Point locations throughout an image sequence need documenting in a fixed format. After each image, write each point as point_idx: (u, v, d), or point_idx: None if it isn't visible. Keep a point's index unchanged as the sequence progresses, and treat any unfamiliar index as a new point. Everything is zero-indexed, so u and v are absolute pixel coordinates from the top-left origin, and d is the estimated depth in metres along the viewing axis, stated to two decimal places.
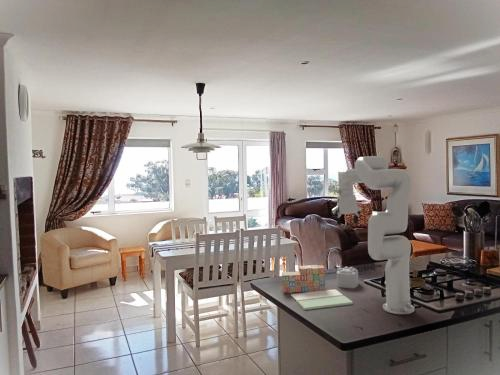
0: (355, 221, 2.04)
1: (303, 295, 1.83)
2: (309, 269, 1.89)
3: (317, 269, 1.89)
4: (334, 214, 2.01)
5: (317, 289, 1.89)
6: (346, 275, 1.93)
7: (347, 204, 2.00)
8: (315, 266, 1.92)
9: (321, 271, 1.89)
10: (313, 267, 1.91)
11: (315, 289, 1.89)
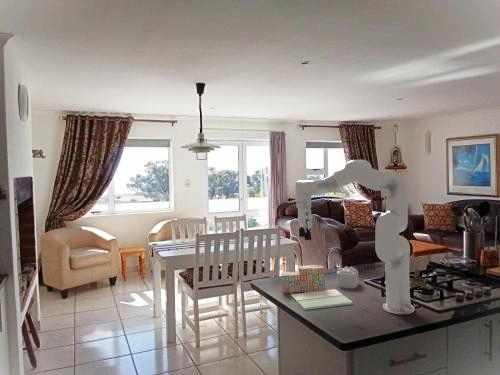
0: (303, 234, 1.96)
1: (303, 295, 1.83)
2: (309, 269, 1.89)
3: (317, 269, 1.89)
4: (310, 229, 1.84)
5: (317, 289, 1.89)
6: (346, 275, 1.93)
7: None
8: (315, 266, 1.92)
9: (321, 271, 1.89)
10: (313, 267, 1.91)
11: (315, 289, 1.89)
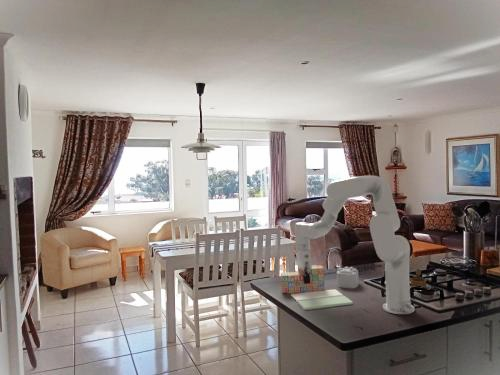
0: None
1: (303, 295, 1.83)
2: None
3: (316, 269, 1.89)
4: (309, 273, 1.85)
5: (316, 289, 1.89)
6: (346, 275, 1.93)
7: None
8: (314, 266, 1.92)
9: (320, 271, 1.89)
10: (312, 267, 1.90)
11: (314, 289, 1.89)
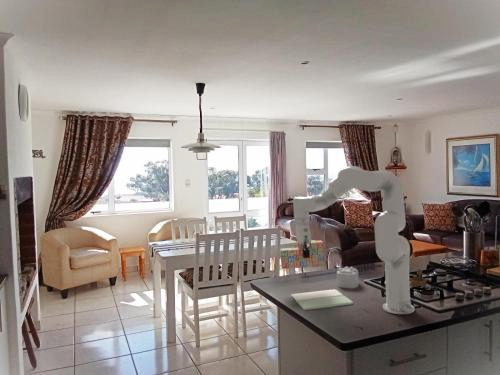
0: None
1: (303, 295, 1.83)
2: None
3: (316, 243, 1.88)
4: (308, 246, 1.84)
5: (316, 264, 1.88)
6: (346, 275, 1.93)
7: None
8: (314, 241, 1.91)
9: (320, 245, 1.88)
10: (312, 242, 1.89)
11: (314, 264, 1.88)
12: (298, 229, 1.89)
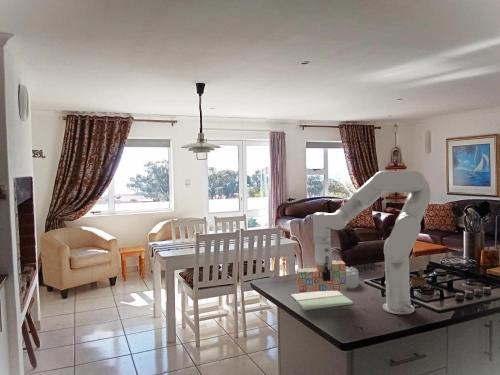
0: None
1: (303, 295, 1.83)
2: None
3: (337, 265, 1.68)
4: (329, 269, 1.65)
5: (337, 287, 1.69)
6: (346, 275, 1.93)
7: None
8: (334, 262, 1.72)
9: (342, 267, 1.69)
10: (332, 263, 1.70)
11: (335, 287, 1.69)
12: (318, 248, 1.69)
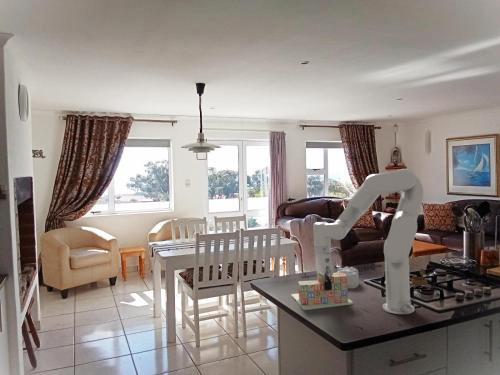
0: None
1: None
2: None
3: (339, 277, 1.69)
4: (331, 278, 1.64)
5: (339, 300, 1.69)
6: (346, 275, 1.93)
7: None
8: (336, 274, 1.72)
9: (343, 279, 1.69)
10: (334, 275, 1.70)
11: (336, 300, 1.69)
12: (318, 258, 1.70)
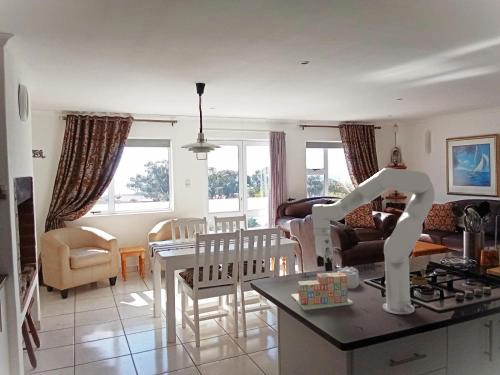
0: (321, 264, 1.76)
1: None
2: (330, 277, 1.69)
3: (339, 277, 1.69)
4: (331, 259, 1.64)
5: (339, 300, 1.69)
6: (347, 275, 1.93)
7: None
8: (336, 274, 1.72)
9: (343, 279, 1.69)
10: (334, 275, 1.70)
11: (336, 300, 1.69)
12: (318, 240, 1.69)
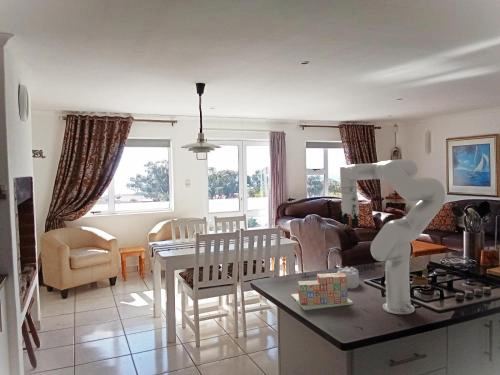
0: (347, 222, 1.88)
1: None
2: (329, 278, 1.68)
3: (338, 278, 1.68)
4: (358, 215, 1.76)
5: (338, 300, 1.68)
6: (347, 275, 1.93)
7: None
8: (336, 274, 1.71)
9: (343, 280, 1.68)
10: (333, 275, 1.70)
11: (336, 300, 1.68)
12: (345, 198, 1.81)
